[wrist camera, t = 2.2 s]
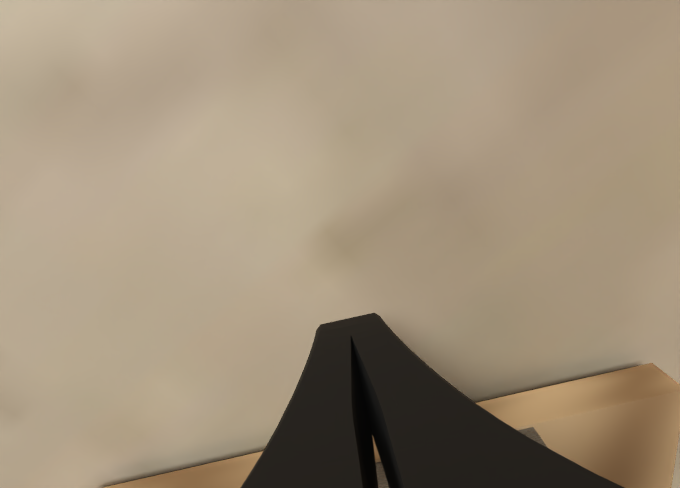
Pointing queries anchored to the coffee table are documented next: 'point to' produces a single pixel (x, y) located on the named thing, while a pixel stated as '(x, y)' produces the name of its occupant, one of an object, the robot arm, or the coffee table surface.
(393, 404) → the robot arm
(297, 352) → the coffee table surface
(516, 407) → the wooden base with peg
